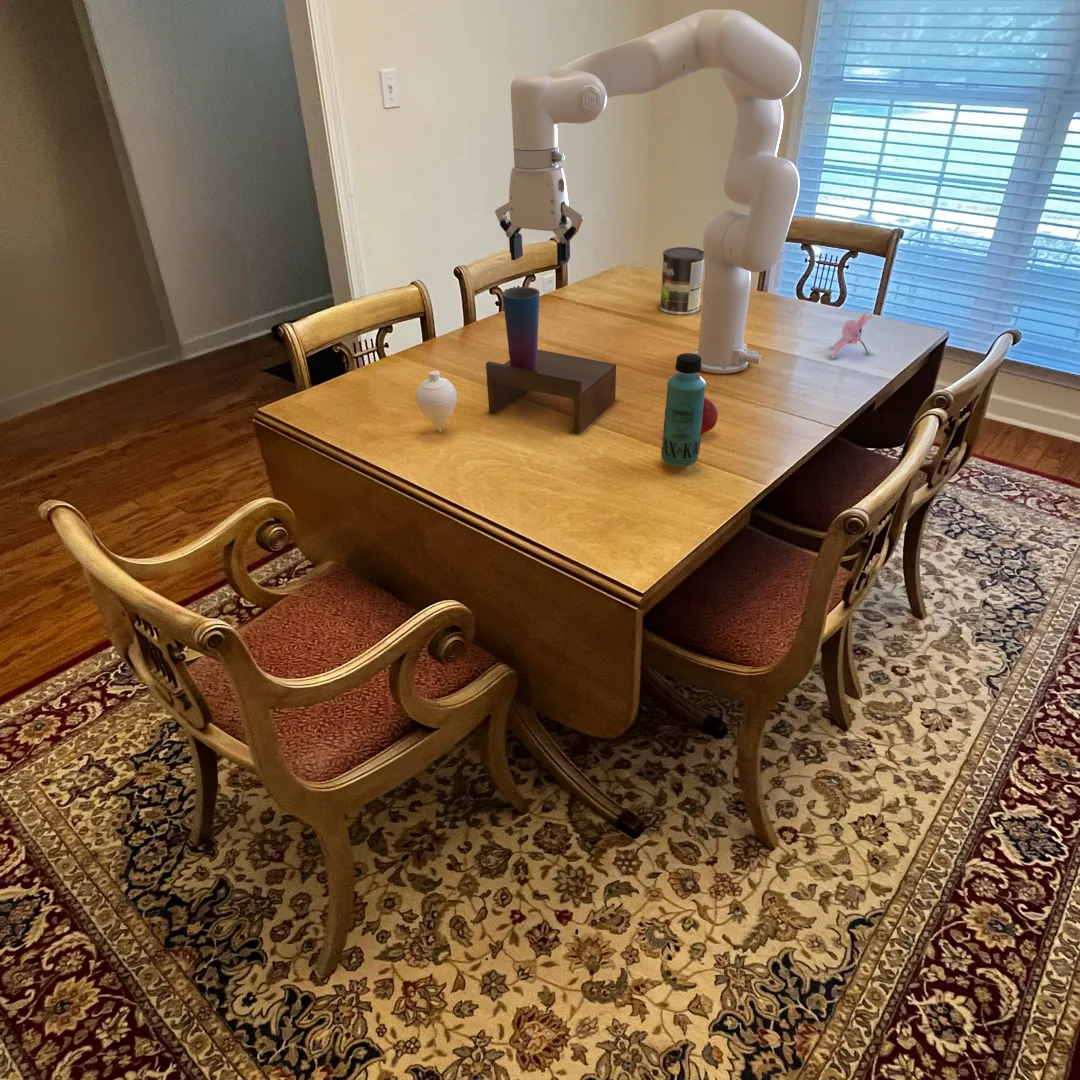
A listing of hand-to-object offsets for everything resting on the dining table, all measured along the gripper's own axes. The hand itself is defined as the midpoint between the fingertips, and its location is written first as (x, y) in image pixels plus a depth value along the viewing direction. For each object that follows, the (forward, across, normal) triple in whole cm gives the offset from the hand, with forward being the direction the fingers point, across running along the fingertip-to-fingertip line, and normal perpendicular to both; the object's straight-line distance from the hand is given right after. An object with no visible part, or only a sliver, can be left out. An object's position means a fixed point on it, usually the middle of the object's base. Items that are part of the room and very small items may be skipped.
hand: (539, 261), depth 146 cm
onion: (+28, -33, 0) cm, 43 cm away
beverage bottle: (+28, -34, +14) cm, 46 cm away
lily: (+29, -49, -51) cm, 77 cm away
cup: (+20, +2, +5) cm, 21 cm away
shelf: (+28, -3, +2) cm, 28 cm away
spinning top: (+28, +11, +21) cm, 37 cm away
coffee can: (+29, -4, -65) cm, 71 cm away
